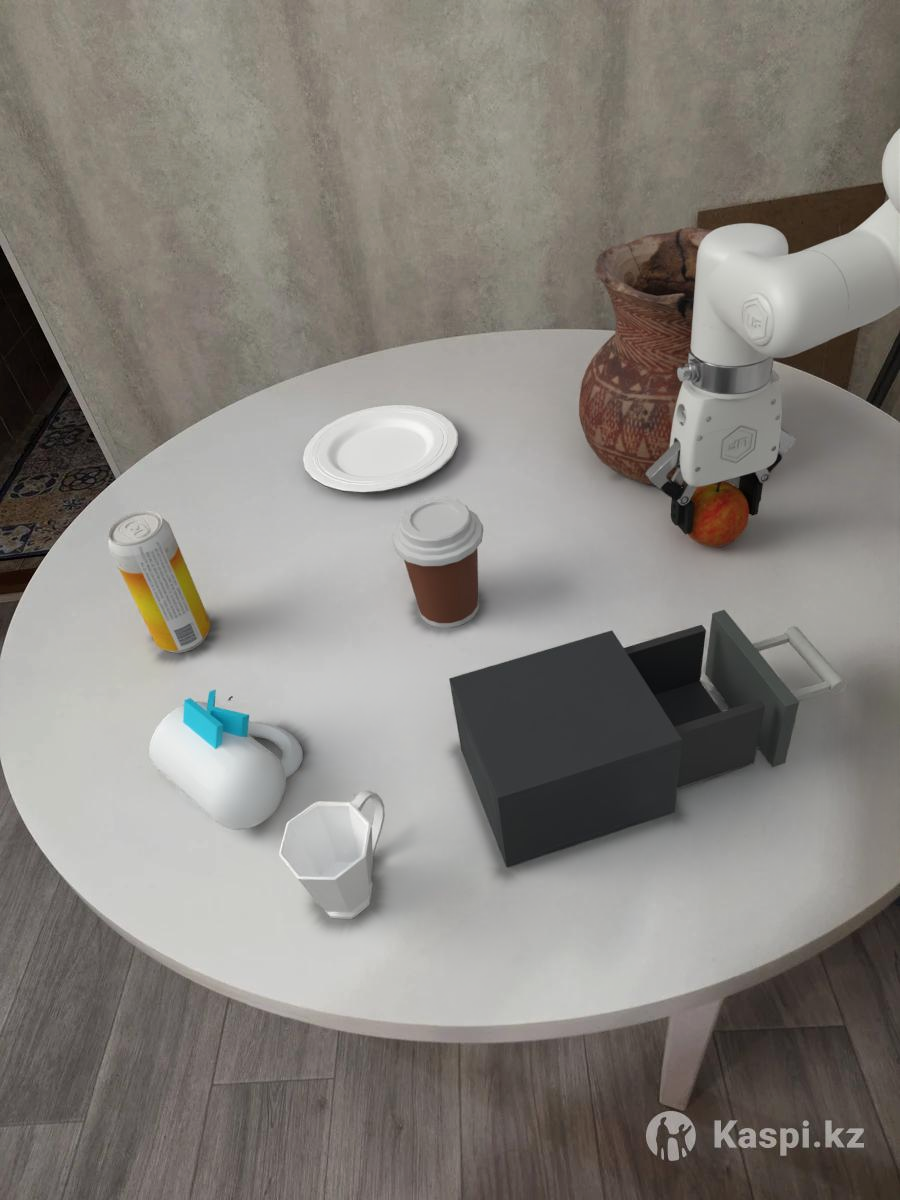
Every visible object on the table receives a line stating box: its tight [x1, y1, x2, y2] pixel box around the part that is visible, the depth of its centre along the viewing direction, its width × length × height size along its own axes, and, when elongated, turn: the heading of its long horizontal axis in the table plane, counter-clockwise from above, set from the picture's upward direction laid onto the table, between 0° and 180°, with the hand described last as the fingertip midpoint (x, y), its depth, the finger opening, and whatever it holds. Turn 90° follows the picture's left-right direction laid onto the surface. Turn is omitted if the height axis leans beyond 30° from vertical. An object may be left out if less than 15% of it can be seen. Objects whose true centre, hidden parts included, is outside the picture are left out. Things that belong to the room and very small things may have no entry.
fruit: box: [687, 480, 750, 548], centre depth 93 cm, size 7×7×8 cm
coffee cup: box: [391, 496, 484, 629], centre depth 88 cm, size 9×9×12 cm
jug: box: [578, 226, 713, 486], centre depth 100 cm, size 22×21×25 cm
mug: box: [148, 689, 304, 830], centre depth 76 cm, size 12×9×12 cm
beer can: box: [107, 510, 211, 654], centre depth 89 cm, size 6×6×15 cm
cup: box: [278, 790, 386, 920], centre depth 67 cm, size 7×10×8 cm
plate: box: [302, 404, 459, 494], centre depth 115 cm, size 21×21×2 cm
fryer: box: [448, 629, 682, 868], centre depth 71 cm, size 15×13×10 cm
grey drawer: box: [623, 609, 847, 789], centre depth 73 cm, size 20×11×8 cm, turn 106°
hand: (714, 516), depth 93 cm, fingers closed on fruit, 7 cm apart
